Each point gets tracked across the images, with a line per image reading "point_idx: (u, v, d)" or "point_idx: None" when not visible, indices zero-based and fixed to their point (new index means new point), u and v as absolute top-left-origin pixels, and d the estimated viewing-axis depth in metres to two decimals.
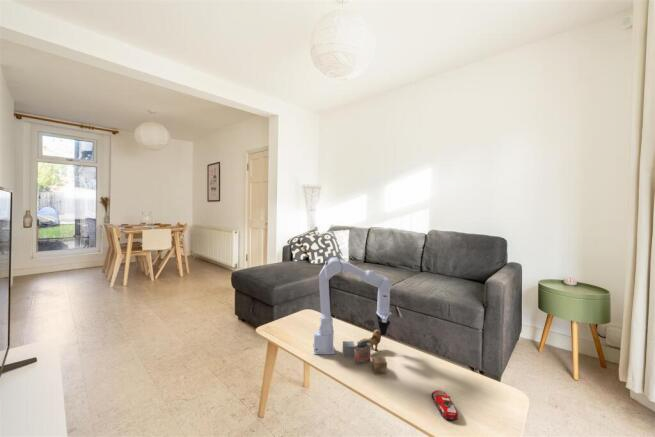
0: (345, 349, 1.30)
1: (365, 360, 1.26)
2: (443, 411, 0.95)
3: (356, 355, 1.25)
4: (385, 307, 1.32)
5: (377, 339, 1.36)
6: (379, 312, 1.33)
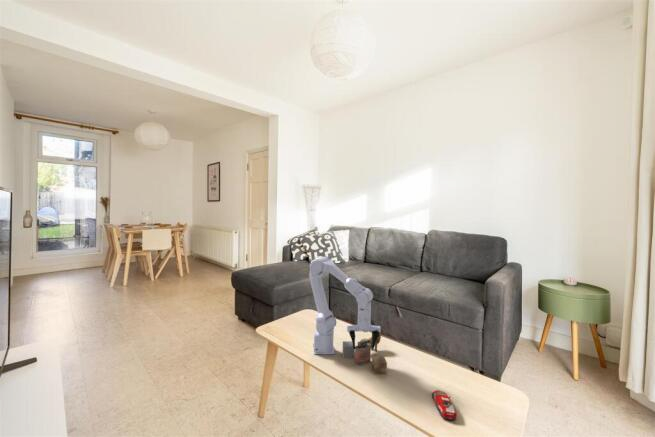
0: (345, 349, 1.30)
1: (365, 360, 1.26)
2: (442, 411, 0.95)
3: (356, 355, 1.25)
4: (358, 320, 1.25)
5: (377, 339, 1.36)
6: None
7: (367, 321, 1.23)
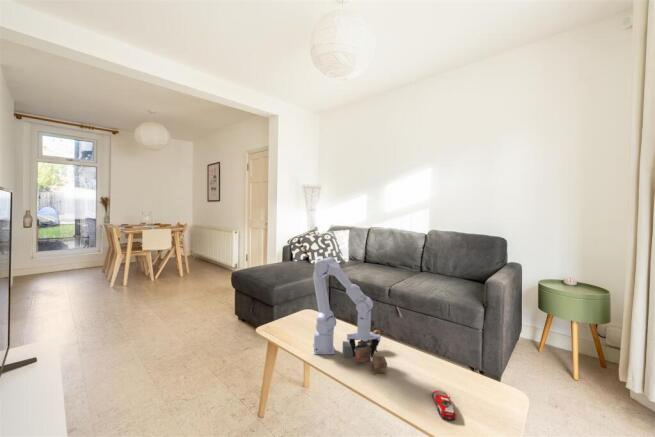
0: (345, 349, 1.30)
1: (365, 360, 1.26)
2: (441, 410, 0.96)
3: (356, 355, 1.25)
4: (358, 328, 1.25)
5: None
6: None
7: (367, 330, 1.23)
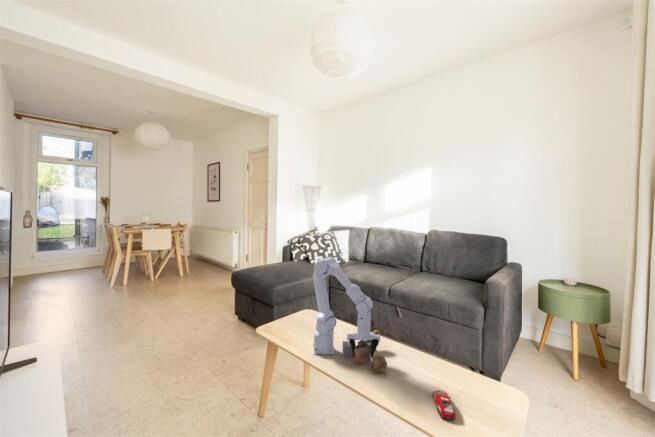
0: (345, 349, 1.30)
1: (365, 360, 1.26)
2: (440, 410, 0.96)
3: (356, 355, 1.25)
4: (358, 328, 1.25)
5: None
6: None
7: (367, 330, 1.23)
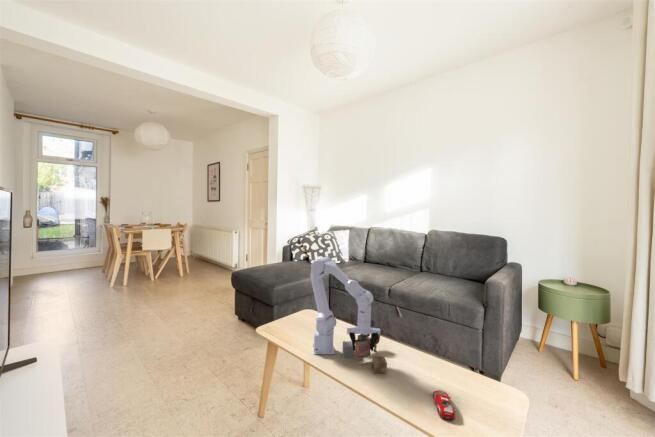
0: (345, 349, 1.30)
1: (365, 354, 1.26)
2: (440, 410, 0.96)
3: (356, 349, 1.24)
4: (358, 322, 1.25)
5: None
6: None
7: (367, 324, 1.23)
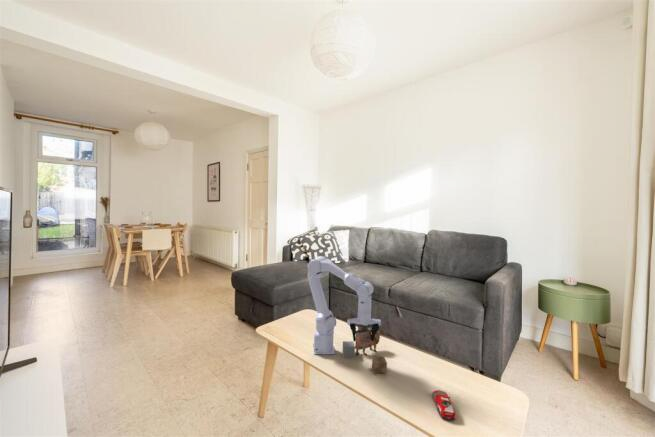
0: (345, 349, 1.30)
1: (366, 345, 1.25)
2: (440, 410, 0.96)
3: (357, 340, 1.24)
4: (358, 313, 1.25)
5: (376, 340, 1.36)
6: None
7: (367, 314, 1.23)
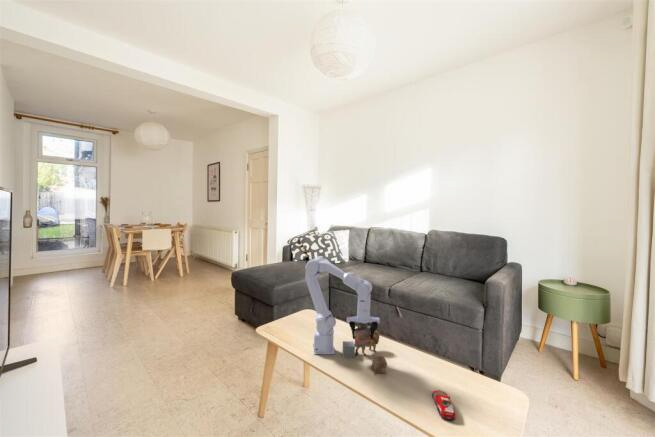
0: (345, 349, 1.30)
1: (365, 342, 1.27)
2: (441, 410, 0.96)
3: (356, 337, 1.26)
4: (357, 311, 1.27)
5: (375, 340, 1.35)
6: None
7: (366, 312, 1.25)
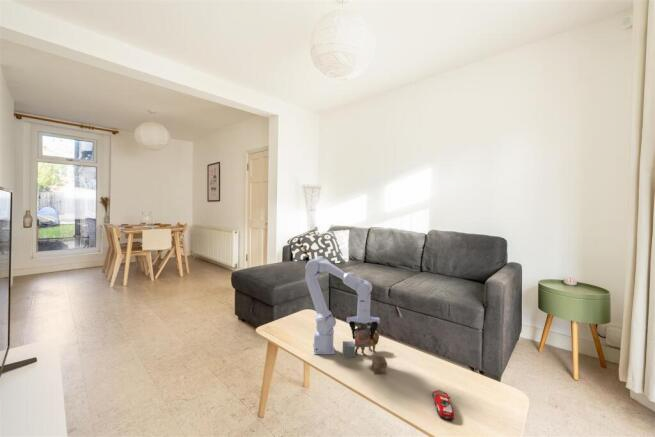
0: (345, 349, 1.30)
1: (365, 342, 1.27)
2: (439, 410, 0.96)
3: (356, 337, 1.26)
4: (357, 311, 1.27)
5: (375, 340, 1.35)
6: None
7: (366, 312, 1.25)
